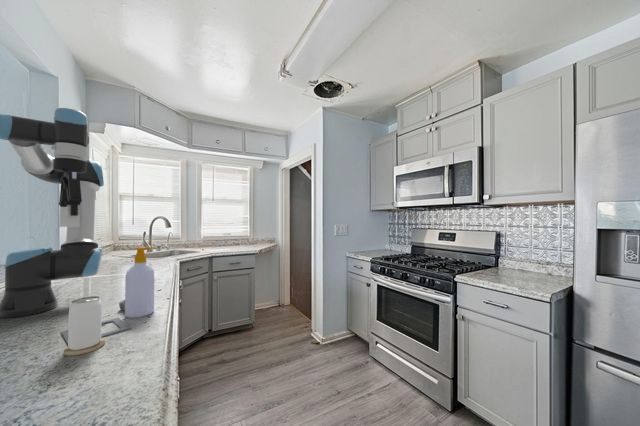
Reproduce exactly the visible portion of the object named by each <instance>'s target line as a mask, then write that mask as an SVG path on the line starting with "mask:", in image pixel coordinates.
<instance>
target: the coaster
mask: <svg viewBox="0 0 640 426" xmlns="http://www.w3.org/2000/svg"><path fill="white" fill-rule="evenodd" d="M105 343H106V341H105V339H103V338H101V341H100V342H99V343H98V344H97V345H95V346H93V347H90V348H87V349H83V350H76V351H73V350H70V349H69V348H68V346H67V347H65V349H63V355H64V356H65V357H67V356H68V357H69V356H70V357H73V356H80V355H81V356H82V355H84V354H88V353H91V352H94V351H96V350H99V349H101V348H102V347H103V346H105Z"/></svg>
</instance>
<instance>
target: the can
mask: <svg viewBox="0 0 640 426" xmlns="http://www.w3.org/2000/svg"><path fill="white" fill-rule="evenodd" d="M100 298H101V297H100V296H97V295H96V296H95V295H94V296H93V295H92V296H84V297H80V298H76V299H73V300H71V304H70V306H69V307H68V327H67V328H68V329H67V330H68V344H67V347H68V348H69V349H70V350H73V351H76V350H83V349H87V348H90V347H93V346H95V345H97V344H98V343H99V342H100V341H101V339H102V337H101V334H102V326H101V322H102V315H103V313H102V312H103V308H102V305H103V303H102V301H101V299H100Z"/></svg>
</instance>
